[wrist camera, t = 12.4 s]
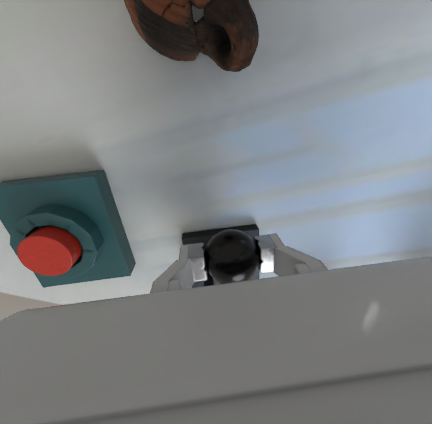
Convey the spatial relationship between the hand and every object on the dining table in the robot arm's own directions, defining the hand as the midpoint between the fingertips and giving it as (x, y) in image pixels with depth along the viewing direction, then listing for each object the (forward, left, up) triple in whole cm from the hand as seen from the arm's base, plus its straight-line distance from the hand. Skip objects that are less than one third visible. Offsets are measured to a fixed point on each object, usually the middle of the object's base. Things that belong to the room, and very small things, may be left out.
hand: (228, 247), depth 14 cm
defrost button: (+2, -16, -6) cm, 17 cm away
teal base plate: (+2, -16, -10) cm, 19 cm away
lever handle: (+5, 0, -1) cm, 5 cm away
